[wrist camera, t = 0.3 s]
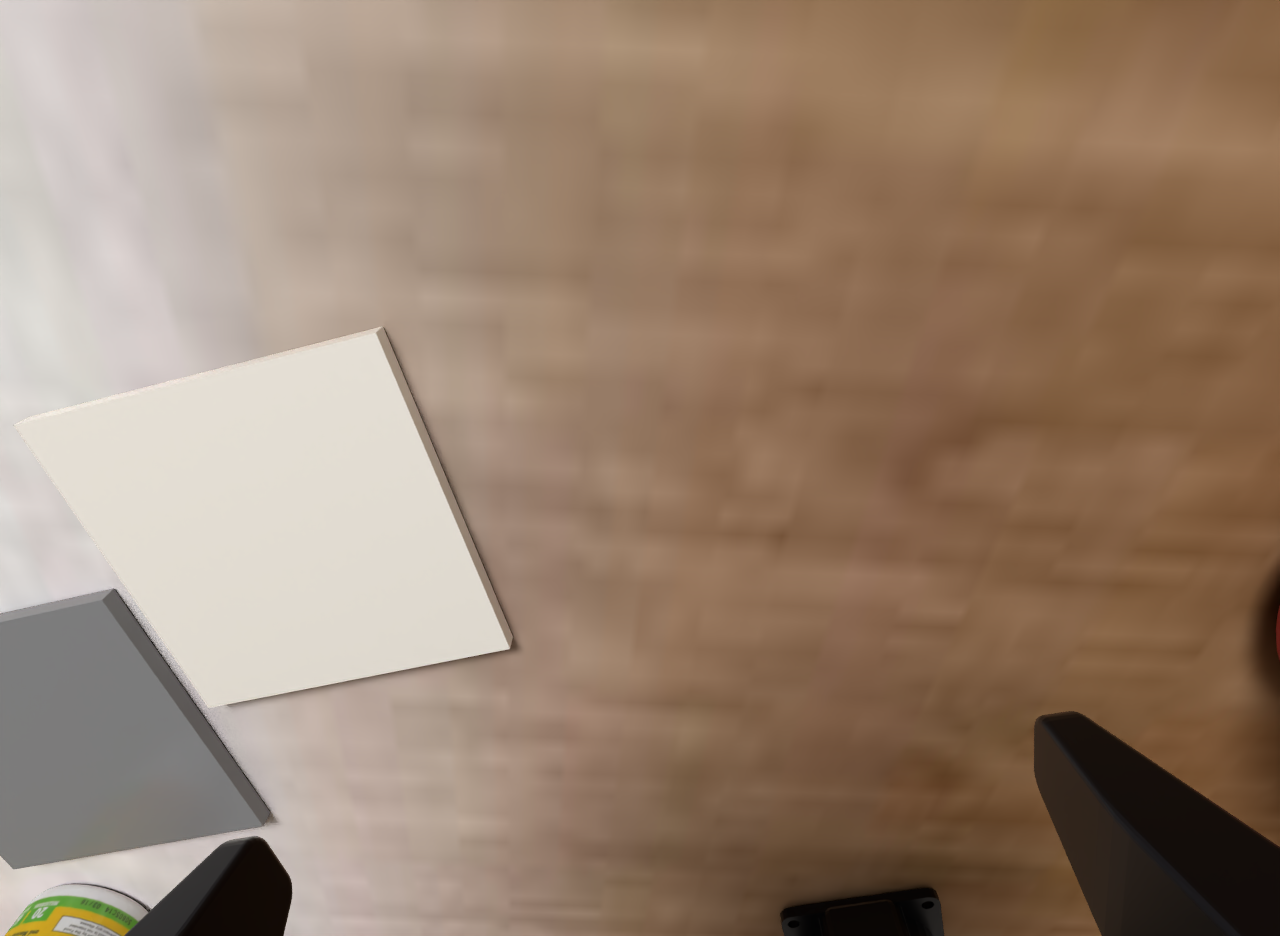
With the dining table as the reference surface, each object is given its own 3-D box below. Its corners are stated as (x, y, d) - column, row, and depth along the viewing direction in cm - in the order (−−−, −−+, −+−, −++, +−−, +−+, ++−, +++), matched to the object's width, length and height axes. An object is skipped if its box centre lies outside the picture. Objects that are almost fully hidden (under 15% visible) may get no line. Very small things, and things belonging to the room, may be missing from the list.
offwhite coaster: (512, 636, 25) (509, 648, 24) (217, 695, 26) (208, 708, 26) (382, 325, 20) (375, 332, 20) (29, 416, 22) (13, 425, 21)
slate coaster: (270, 812, 29) (263, 826, 29) (24, 855, 30) (13, 869, 30) (113, 588, 24) (101, 599, 24) (-170, 651, 26) (-188, 663, 25)
